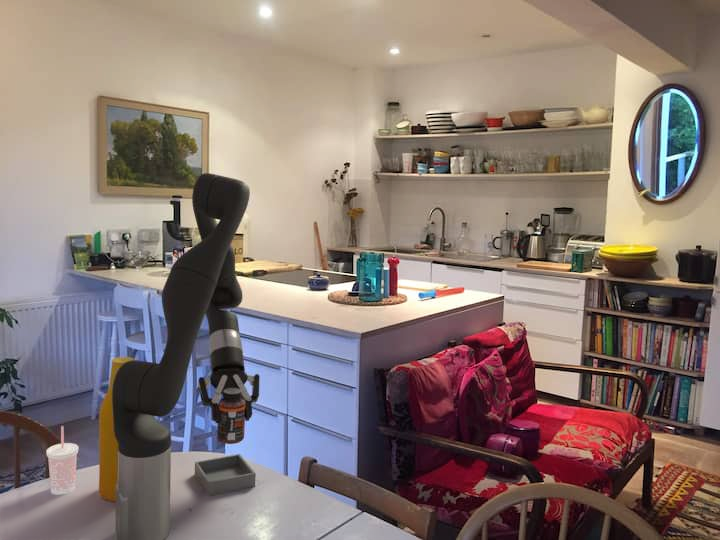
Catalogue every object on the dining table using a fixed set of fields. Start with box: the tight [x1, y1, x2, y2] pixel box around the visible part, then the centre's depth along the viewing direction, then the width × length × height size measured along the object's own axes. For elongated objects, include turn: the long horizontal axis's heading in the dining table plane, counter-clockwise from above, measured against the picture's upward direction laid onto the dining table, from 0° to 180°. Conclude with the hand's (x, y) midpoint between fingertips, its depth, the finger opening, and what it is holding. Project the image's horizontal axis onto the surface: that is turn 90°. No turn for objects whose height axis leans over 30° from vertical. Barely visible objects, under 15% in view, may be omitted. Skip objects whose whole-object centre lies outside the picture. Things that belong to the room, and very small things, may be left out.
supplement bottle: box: [216, 388, 246, 445], centre depth 132 cm, size 6×6×11 cm
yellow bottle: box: [98, 356, 135, 502], centre depth 125 cm, size 9×9×29 cm
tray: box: [194, 453, 257, 497], centre depth 134 cm, size 11×11×3 cm
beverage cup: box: [46, 425, 80, 495], centre depth 126 cm, size 6×6×14 cm
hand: (232, 420), depth 131 cm, fingers closed on supplement bottle, 6 cm apart
